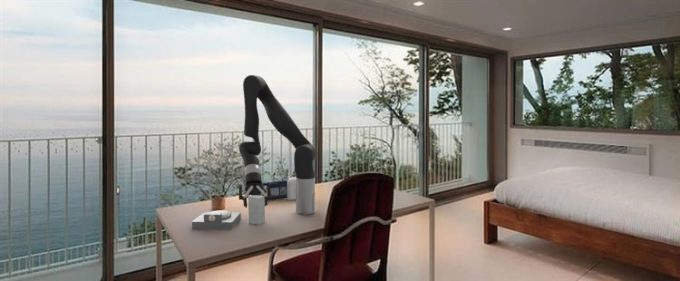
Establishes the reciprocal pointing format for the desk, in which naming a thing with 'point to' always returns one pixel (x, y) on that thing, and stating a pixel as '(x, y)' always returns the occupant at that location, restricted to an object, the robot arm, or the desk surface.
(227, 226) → the scale
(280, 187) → the vhs cassette tape
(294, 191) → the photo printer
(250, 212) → the skincare box
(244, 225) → the desk surface
